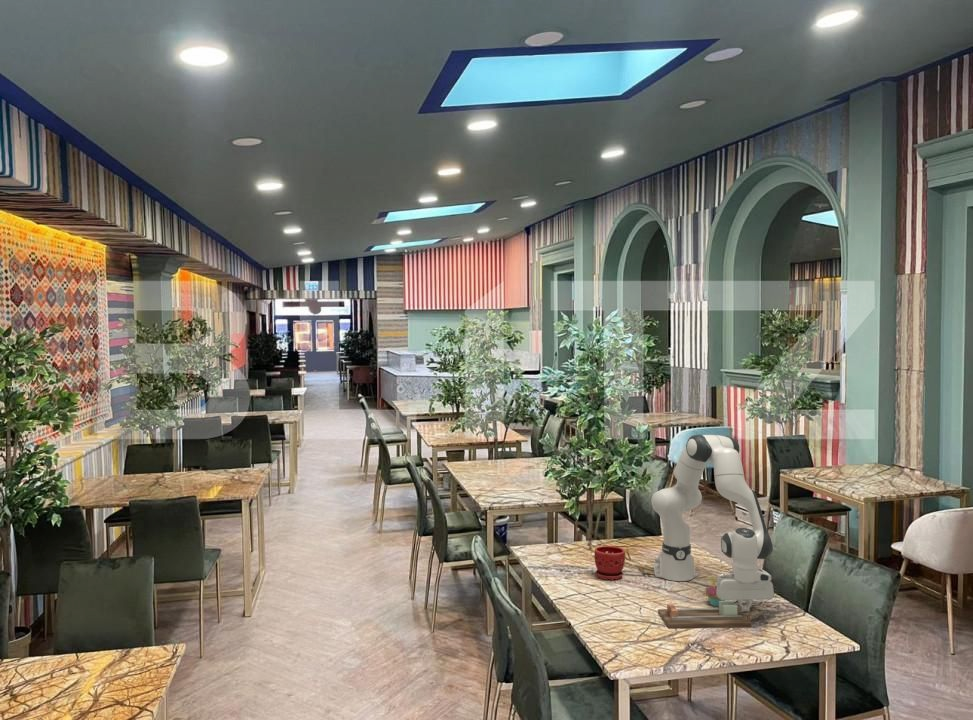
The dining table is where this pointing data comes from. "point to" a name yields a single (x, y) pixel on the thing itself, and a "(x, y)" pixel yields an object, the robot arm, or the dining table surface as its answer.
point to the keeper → (727, 608)
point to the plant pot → (609, 562)
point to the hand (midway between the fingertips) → (744, 611)
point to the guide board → (701, 618)
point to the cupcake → (713, 594)
